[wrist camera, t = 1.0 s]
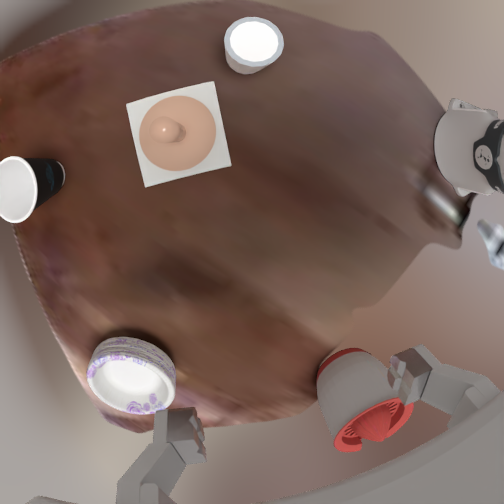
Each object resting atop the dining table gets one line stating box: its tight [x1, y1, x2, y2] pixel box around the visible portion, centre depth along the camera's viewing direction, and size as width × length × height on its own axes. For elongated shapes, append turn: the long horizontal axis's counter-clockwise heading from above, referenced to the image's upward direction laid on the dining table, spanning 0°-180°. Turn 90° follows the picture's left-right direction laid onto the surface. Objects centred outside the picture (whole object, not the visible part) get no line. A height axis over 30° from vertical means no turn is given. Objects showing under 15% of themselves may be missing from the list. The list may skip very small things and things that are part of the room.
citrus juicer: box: [316, 348, 413, 452], centre depth 48 cm, size 16×17×20 cm
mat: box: [126, 81, 231, 187], centre depth 36 cm, size 12×12×1 cm
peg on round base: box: [139, 96, 216, 171], centre depth 29 cm, size 10×10×14 cm
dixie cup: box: [0, 156, 65, 223], centre depth 30 cm, size 8×8×11 cm
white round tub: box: [224, 17, 284, 74], centre depth 30 cm, size 7×7×7 cm
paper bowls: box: [87, 337, 176, 414], centre depth 45 cm, size 15×15×8 cm
